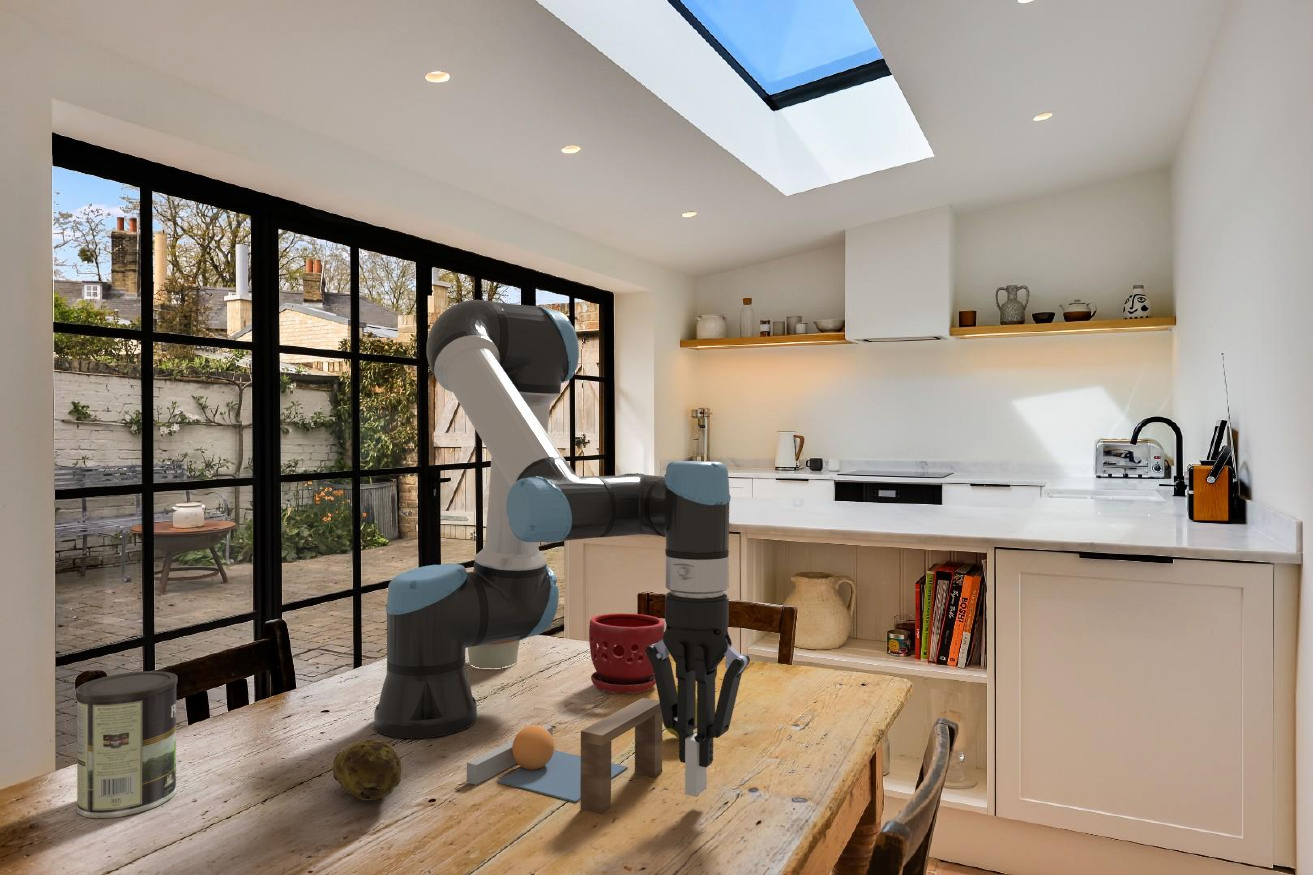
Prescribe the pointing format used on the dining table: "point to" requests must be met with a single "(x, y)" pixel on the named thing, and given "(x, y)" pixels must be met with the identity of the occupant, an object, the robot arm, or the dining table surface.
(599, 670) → the plant pot
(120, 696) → the coffee can
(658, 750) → the bridge
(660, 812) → the dining table surface
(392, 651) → the robot arm
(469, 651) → the reusable coffee cup
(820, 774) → the dining table surface
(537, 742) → the ball
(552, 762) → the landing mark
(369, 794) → the potato
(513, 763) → the stopper
